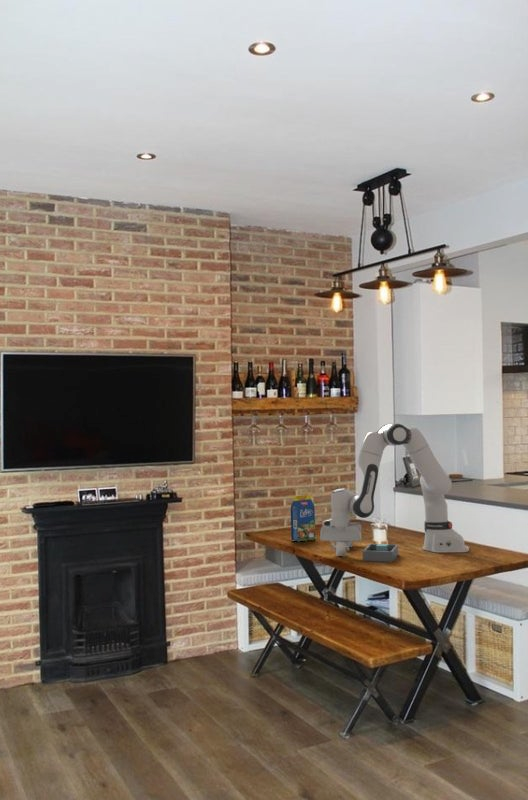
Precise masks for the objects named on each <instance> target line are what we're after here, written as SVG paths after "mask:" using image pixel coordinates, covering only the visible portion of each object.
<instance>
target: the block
mask: <svg viewBox="0 0 528 800" xmlns="http://www.w3.org/2000/svg"><path fill="white" fill-rule="evenodd" d="M376 544H377V545H376V551H388V544H389V543H376Z"/></svg>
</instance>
